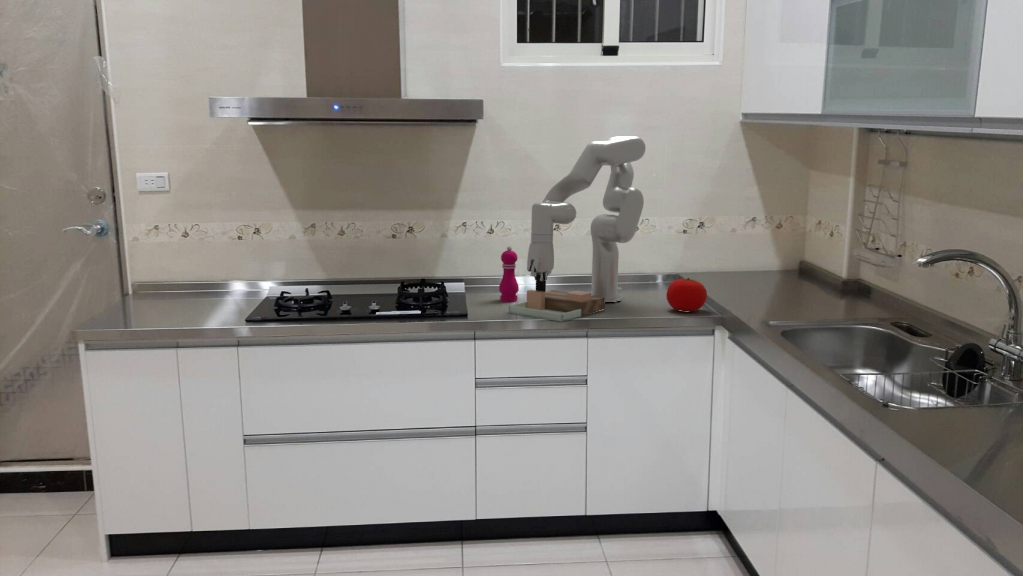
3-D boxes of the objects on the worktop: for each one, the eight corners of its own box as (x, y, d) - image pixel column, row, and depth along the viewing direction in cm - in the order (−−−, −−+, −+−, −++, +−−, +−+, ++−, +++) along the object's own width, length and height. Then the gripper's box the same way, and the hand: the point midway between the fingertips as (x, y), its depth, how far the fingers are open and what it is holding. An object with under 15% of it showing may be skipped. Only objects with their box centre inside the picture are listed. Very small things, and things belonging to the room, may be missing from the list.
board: (552, 302, 290) (552, 290, 290) (604, 310, 277) (604, 297, 276) (529, 307, 279) (529, 295, 279) (581, 316, 266) (582, 303, 265)
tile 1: (531, 289, 278) (526, 290, 276) (545, 291, 274) (540, 292, 272) (530, 306, 279) (526, 307, 277) (544, 308, 275) (540, 309, 273)
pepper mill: (495, 301, 291) (495, 246, 288) (504, 298, 297) (505, 244, 294) (512, 303, 288) (513, 247, 284) (521, 299, 294) (522, 245, 291)
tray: (528, 308, 279) (528, 301, 279) (581, 316, 266) (581, 309, 265) (508, 312, 271) (508, 305, 270) (562, 321, 257) (562, 314, 257)
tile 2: (576, 297, 275) (576, 290, 275) (591, 299, 271) (591, 292, 271) (566, 300, 270) (566, 292, 270) (581, 302, 267) (581, 295, 266)
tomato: (662, 307, 284) (664, 274, 282) (700, 307, 284) (702, 275, 282) (670, 314, 271) (671, 280, 269) (710, 315, 271) (712, 281, 269)
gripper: (546, 236, 282) (544, 288, 285) (519, 239, 270) (518, 293, 273) (563, 238, 277) (561, 290, 280) (537, 241, 266) (536, 295, 269)
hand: (540, 291), depth 277 cm, fingers closed
